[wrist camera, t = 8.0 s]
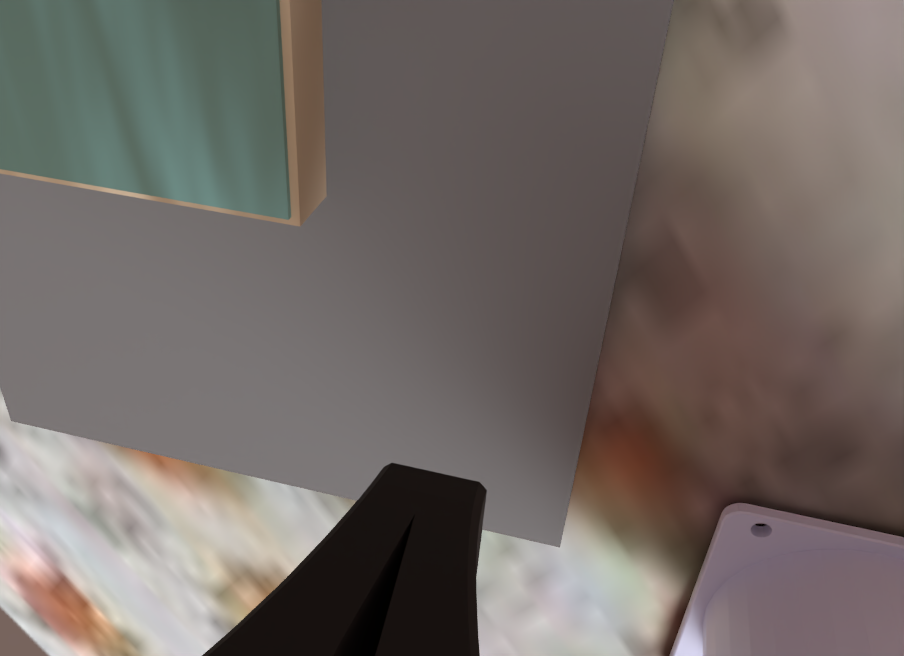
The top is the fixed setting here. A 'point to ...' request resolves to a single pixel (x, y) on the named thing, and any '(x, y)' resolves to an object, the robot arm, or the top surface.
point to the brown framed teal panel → (168, 101)
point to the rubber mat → (365, 268)
